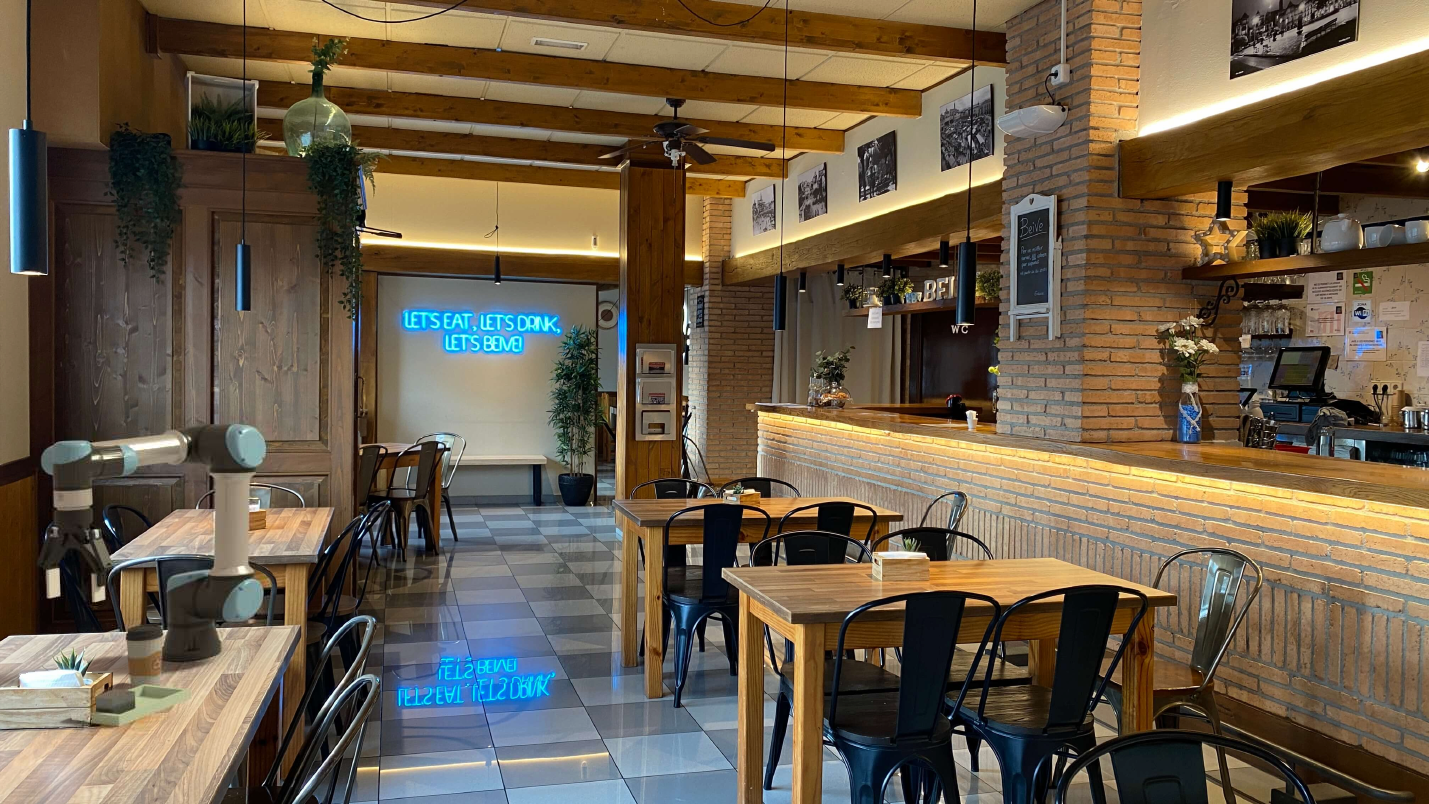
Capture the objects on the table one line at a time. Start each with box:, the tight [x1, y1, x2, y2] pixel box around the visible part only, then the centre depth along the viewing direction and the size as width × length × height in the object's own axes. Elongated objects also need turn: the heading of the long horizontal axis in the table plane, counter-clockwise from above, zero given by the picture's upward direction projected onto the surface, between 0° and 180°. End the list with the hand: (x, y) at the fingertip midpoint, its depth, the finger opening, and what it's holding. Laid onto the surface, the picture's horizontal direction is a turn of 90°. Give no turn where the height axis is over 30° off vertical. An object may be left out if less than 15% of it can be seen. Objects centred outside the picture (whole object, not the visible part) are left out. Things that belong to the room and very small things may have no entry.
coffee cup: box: [125, 623, 164, 688], centre depth 255 cm, size 8×8×15 cm
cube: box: [95, 688, 135, 715], centre depth 231 cm, size 6×6×5 cm
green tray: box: [90, 684, 191, 728], centre depth 236 cm, size 20×14×3 cm
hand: (76, 598), depth 235 cm, fingers open, 13 cm apart
